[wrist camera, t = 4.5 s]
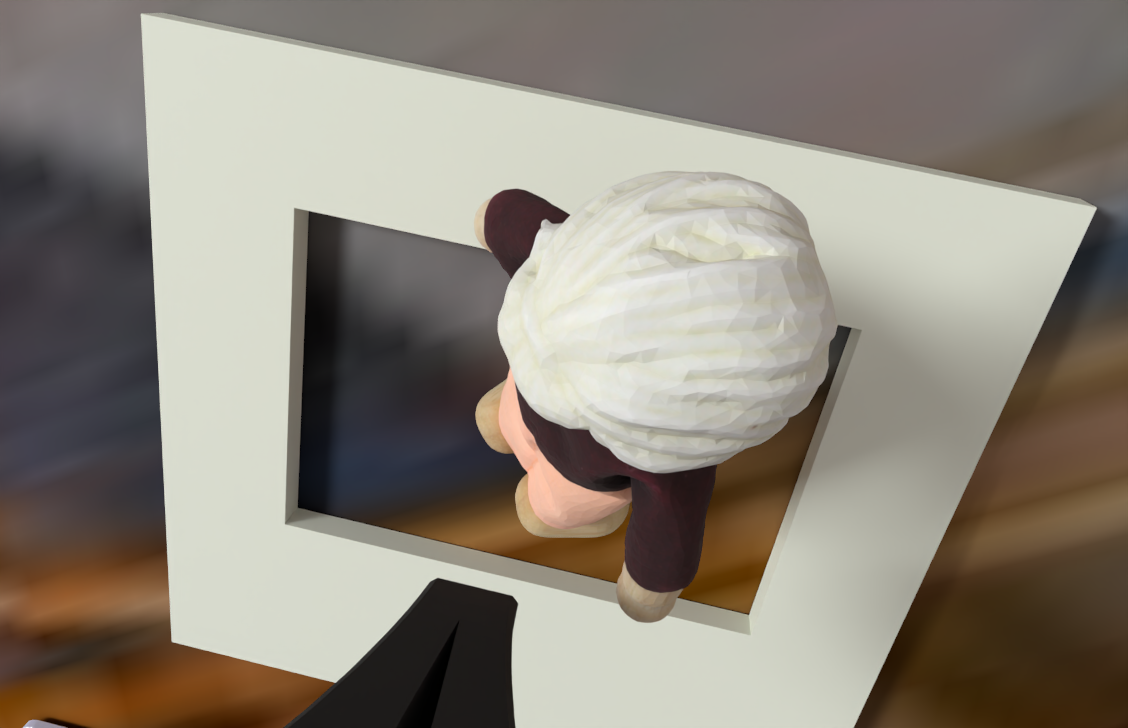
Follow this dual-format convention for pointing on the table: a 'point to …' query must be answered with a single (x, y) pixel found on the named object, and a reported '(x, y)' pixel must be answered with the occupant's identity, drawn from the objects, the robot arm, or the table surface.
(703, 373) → the grandmother figurine
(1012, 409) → the table surface
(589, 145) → the pale rectangular frame
